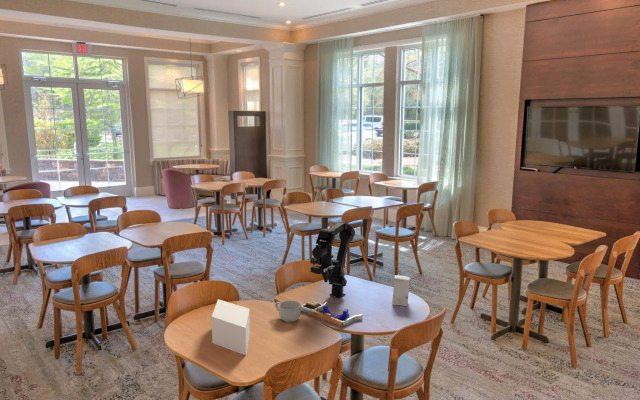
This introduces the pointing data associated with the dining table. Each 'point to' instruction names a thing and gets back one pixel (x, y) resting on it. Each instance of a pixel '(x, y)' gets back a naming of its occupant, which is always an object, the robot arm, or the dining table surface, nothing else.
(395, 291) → the skincare box
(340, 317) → the cable clip
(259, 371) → the dining table surface
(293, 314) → the teacup
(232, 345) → the block
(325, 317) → the rack
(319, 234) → the robot arm
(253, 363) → the dining table surface
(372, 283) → the dining table surface
